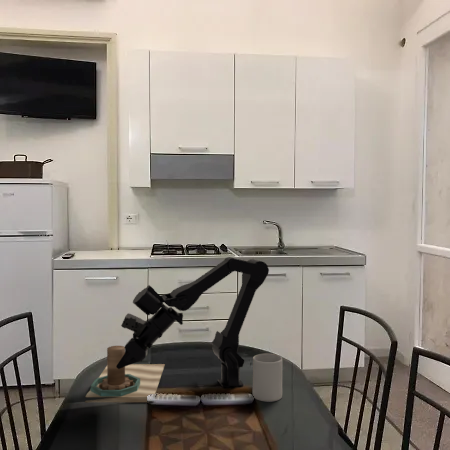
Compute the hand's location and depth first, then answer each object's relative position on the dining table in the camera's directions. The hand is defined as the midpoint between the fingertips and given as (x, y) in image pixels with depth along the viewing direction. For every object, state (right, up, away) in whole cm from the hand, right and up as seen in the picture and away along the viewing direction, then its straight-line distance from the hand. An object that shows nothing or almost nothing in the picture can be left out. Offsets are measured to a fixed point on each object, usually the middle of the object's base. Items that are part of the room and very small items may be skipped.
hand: (120, 362), depth 136 cm
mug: (+42, -9, 0) cm, 43 cm away
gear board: (+1, -9, +7) cm, 11 cm away
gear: (-1, -7, 0) cm, 7 cm away
